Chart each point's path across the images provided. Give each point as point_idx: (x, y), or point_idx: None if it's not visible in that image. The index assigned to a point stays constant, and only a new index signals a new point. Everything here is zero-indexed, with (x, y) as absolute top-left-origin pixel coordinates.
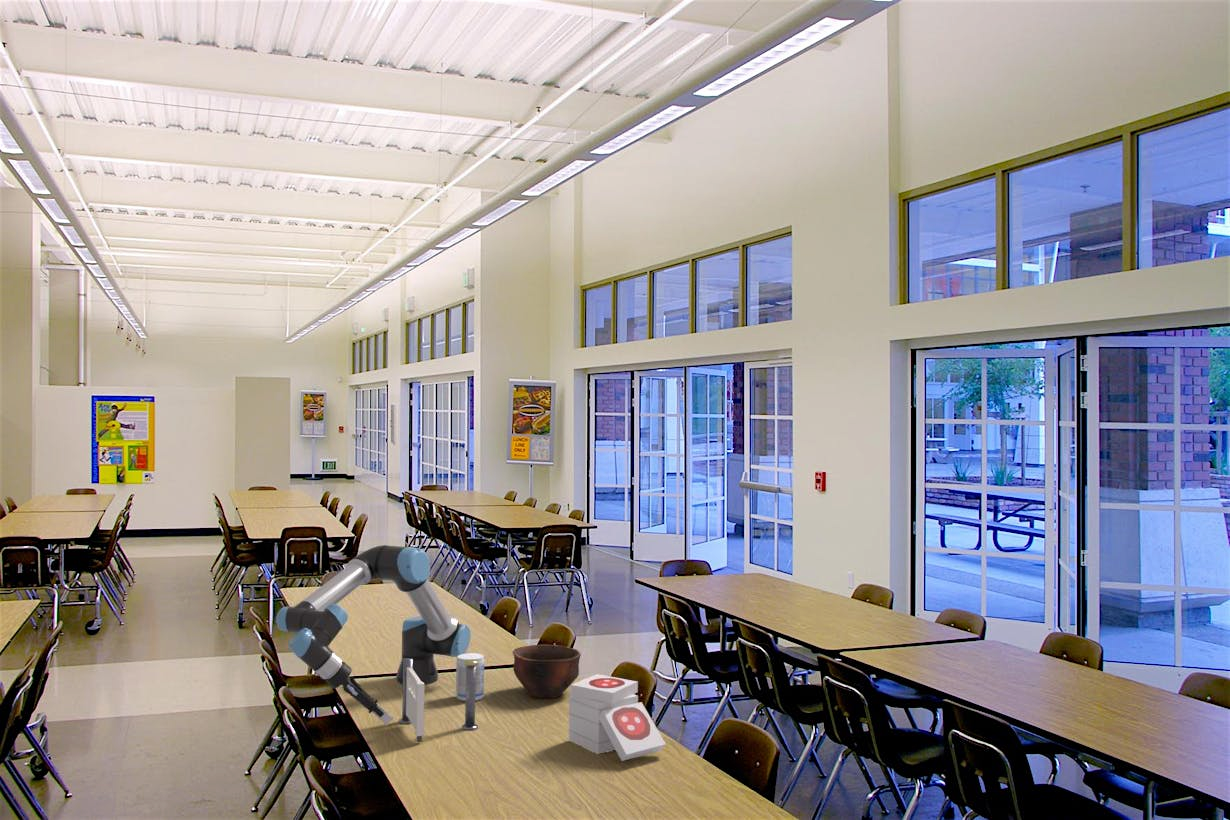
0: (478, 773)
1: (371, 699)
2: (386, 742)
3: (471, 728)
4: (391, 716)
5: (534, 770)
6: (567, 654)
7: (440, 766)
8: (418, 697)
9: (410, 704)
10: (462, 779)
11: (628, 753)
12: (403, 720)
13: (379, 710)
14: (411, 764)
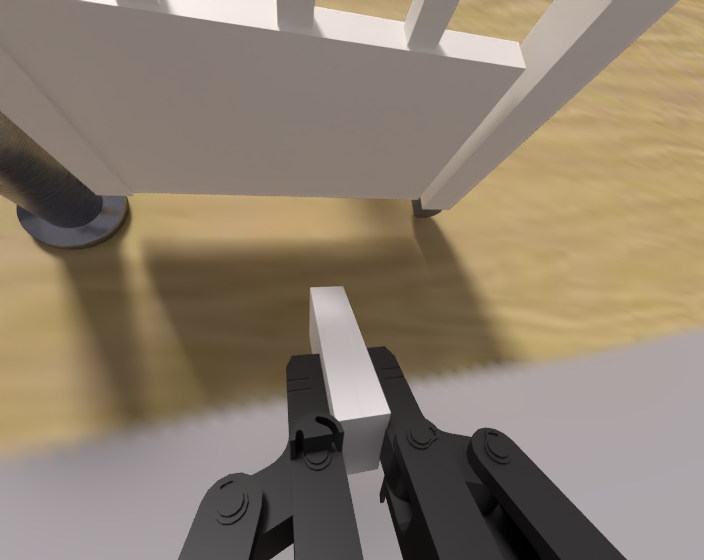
0: (652, 124)
1: (354, 528)
2: (381, 339)
3: None
4: (318, 291)
5: None
6: None
7: (617, 195)
8: (647, 18)
9: (215, 125)
10: (689, 167)
11: None
12: (85, 222)
13: (407, 388)
14: (607, 272)
